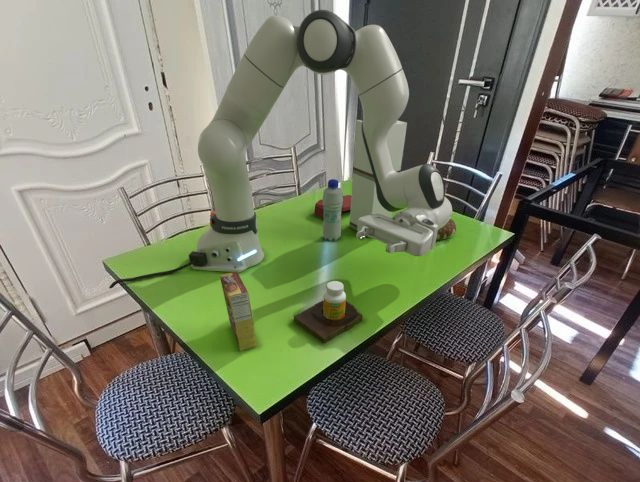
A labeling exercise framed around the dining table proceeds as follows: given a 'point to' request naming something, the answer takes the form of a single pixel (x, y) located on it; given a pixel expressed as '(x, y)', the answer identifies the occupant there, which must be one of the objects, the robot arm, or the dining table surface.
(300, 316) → the holder
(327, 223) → the bottle
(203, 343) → the dining table surface
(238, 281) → the candy box
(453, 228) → the donut
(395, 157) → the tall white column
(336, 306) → the supplement bottle
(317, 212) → the carton
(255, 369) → the dining table surface
